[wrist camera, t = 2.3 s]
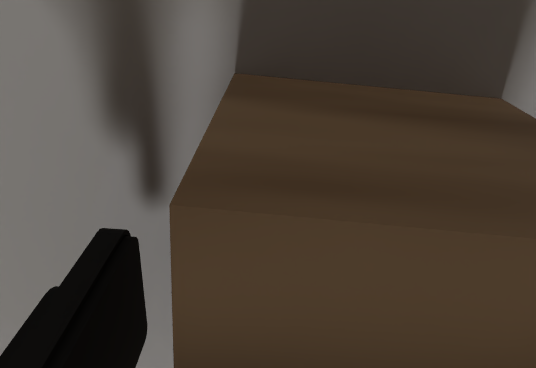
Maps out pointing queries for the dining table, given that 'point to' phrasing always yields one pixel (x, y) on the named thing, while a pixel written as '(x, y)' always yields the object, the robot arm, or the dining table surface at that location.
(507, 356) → the walnut block
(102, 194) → the dining table surface
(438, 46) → the dining table surface
